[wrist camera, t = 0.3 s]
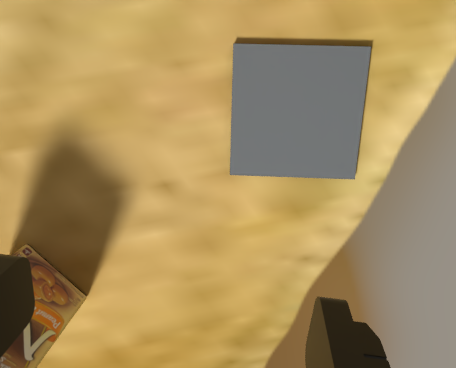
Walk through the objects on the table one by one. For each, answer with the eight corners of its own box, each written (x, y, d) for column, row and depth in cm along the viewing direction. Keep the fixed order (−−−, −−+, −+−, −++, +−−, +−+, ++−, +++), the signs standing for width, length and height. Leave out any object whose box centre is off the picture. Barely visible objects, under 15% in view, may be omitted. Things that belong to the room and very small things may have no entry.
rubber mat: (233, 44, 34) (233, 43, 33) (369, 47, 33) (371, 46, 33) (230, 173, 37) (230, 174, 37) (353, 177, 37) (354, 179, 36)
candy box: (89, 295, 42) (4, 415, 27) (65, 317, 43) (-30, 444, 28) (27, 241, 40) (-98, 338, 26) (3, 265, 41) (-130, 371, 27)
